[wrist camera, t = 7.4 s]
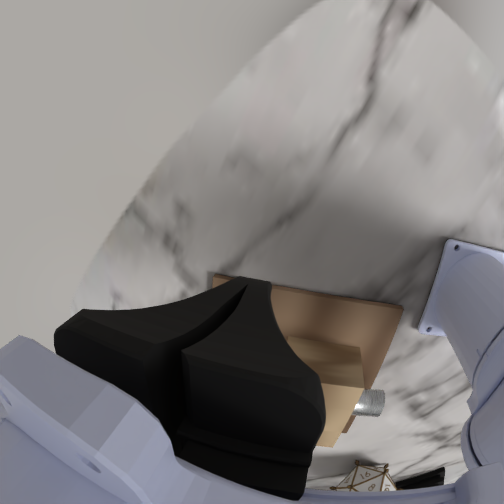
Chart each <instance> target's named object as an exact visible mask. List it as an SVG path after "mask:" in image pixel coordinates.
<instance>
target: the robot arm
mask: <svg viewBox="0 0 504 504" xmlns="http://www.w3.org/2000/svg"><path fill="white" fill-rule="evenodd" d="M456 245H458V248H457V249H456V250H454V247H455V246H456ZM271 291H272V284H271V283H270V282H268V281H262V280H257V279H251V278H246V277H241V276H239V277H236V278H234V279H232V280H229V281H227V282H225V283H223V284H221V285H219V286H217V287H215V288H212V289H210V290H208V291H205V292H203V293H200V294H198V295H195V296H193V297H190V298H187V299H184V300H181V301H177V302H173V303H170V304H165V305H160V306H154V307H148V308H142V309H131V310H89V309H82V310H81V311H79V312H78V313H77V314H75V315H74V316H73V317H71V318H70V319H69V320H67V321H66V322H65V323H64V324H62V325H61V326H60V327H58V328H57V329H56V331H55V333H54V347H55V351H56V354H55V353H54V352H52V351H50V350H49V349H47V348H45V347H44V346H42V345H41V344H39V343H38V342H36V341H35V340H33V339H29V338H27V337H23V336H20V335H19V336H17V337H16V338H15V339H13V340H12V341H11V342H9V343H8V344H7V345H5V346H4V347H2V348H1V349H0V504H504V252H502V251H498V250H494V249H490V248H487V247H483V246H479V245H475V244H471V243H466V242H462V241H458V240H454V239H449V240H447V241H446V243H445V246H444V250H443V254H442V257H441V261H440V264H439V268H438V271H437V274H436V277H435V281H434V284H433V287H432V290H431V293H430V296H429V298H428V301H427V304H426V307H425V309H424V312H423V315H422V317H421V320H420V322H419V325H418V331H419V333H421V334H428V335H438V336H447V338H448V340H449V342H450V344H451V345H452V347H453V349H454V351H455V353H456V355H457V357H458V359H459V361H460V363H461V365H462V367H463V369H464V371H465V374H466V376H467V378H468V380H469V382H470V384H471V387H472V389H473V391H472V394H471V396H470V397H469V399H468V400H467V403H468V406H469V409H470V411H471V414H472V415H471V416H470V417H469V418H468V420H467V421H466V422H465V424H464V426H463V429H462V433H461V449H462V453H463V457H464V461H465V463H466V466H467V468H468V470H469V471H467V472H466V473H465V474H463V475H462V476H461V477H460V478H459V479H458V480H457V481H456V482H455V483H452V484H447V485H441V486H435V487H428V488H420V489H410V490H398V491H377V492H352V491H330V490H317V489H308V488H305V485H306V479H307V473H308V468H309V467H310V465H311V461H312V453H313V450H314V448H315V446H316V444H317V442H318V440H319V438H320V436H321V434H322V432H323V430H324V427H325V423H326V407H325V399H324V394H323V389H322V385H321V381H320V378H319V375H318V374H317V373H316V372H315V371H314V370H312V369H311V368H310V367H309V366H308V365H307V364H305V363H304V362H303V361H302V360H301V359H300V358H299V357H298V356H297V355H296V354H295V352H294V351H293V350H292V348H291V347H290V345H289V344H288V343H287V341H286V340H285V338H284V336H283V334H282V332H281V330H280V328H279V326H278V324H277V321H276V318H275V315H274V312H273V308H272V303H271ZM428 327H430V329H428V330H426V329H427V328H428Z"/></svg>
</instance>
